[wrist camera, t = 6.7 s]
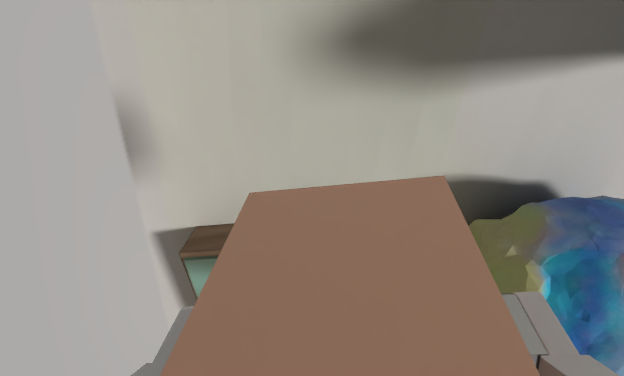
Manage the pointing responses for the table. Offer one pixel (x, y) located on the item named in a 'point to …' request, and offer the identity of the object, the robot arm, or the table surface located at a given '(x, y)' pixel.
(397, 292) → the terracotta block
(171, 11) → the table surface
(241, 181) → the table surface
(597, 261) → the earth globe model
